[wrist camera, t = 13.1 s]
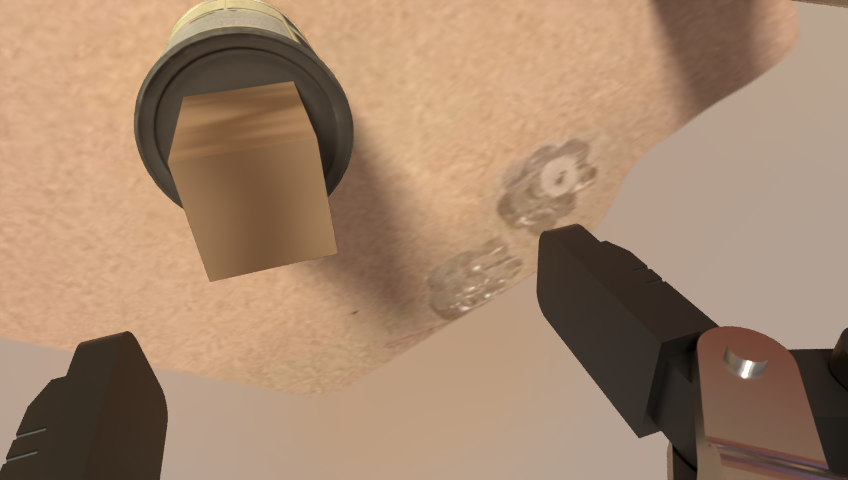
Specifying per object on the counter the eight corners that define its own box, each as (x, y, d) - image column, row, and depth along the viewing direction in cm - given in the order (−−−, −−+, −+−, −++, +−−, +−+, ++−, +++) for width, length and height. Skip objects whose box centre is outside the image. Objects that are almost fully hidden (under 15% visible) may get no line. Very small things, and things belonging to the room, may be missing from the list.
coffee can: (342, 53, 39) (392, 108, 27) (270, 164, 41) (288, 257, 30) (209, -43, 33) (200, -25, 22) (135, 92, 36) (93, 173, 24)
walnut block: (293, 81, 25) (316, 137, 18) (311, 175, 28) (337, 253, 21) (183, 97, 24) (167, 162, 17) (213, 193, 27) (209, 282, 20)
